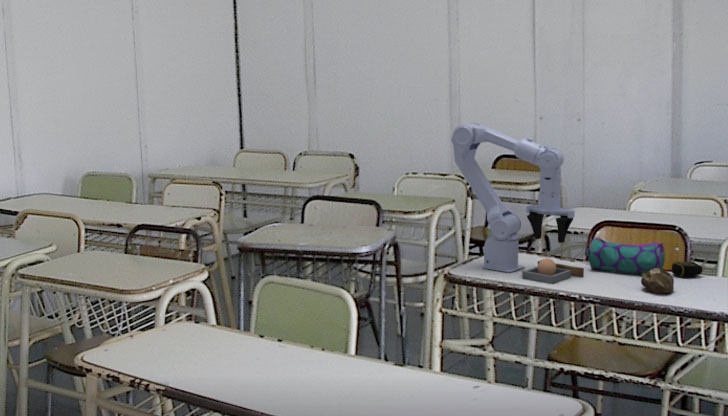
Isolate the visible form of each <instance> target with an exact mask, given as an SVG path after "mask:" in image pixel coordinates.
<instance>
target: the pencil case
mask: <svg viewBox="0 0 728 416" xmlns="http://www.w3.org/2000/svg"><path fill="white" fill-rule="evenodd" d="M664 244H665V241H664V242H661V243H659V242H652V243H646V244H626V243H625V244H624V243H617V242H611V241H608V240H607V239H604V238H601V236H596V237H595V238H593V239H592V241H591V243H590V244H589V248H585V251H584V256H587V257H588V261H589V266H590V268H591V269H592V270H600V271H606V272H612V273H613V272H614V273H620V274H631V275H642V273H647V272H648V271H650V270H652V269H655V268H658V269H663V268H664V265H665V253H666V252H665V247H664Z"/></svg>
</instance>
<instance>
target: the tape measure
mask: <svg viewBox="0 0 728 416" xmlns="http://www.w3.org/2000/svg"><path fill="white" fill-rule="evenodd" d="M671 273H672V274H673V275H675V276H678V277H680V278H693V277H696V276H699V275H701V274H702V273H703V266H701V265H700V264H697V263H693V262H690V261H684V260H682V261H674V262H673V263H672V265H671Z"/></svg>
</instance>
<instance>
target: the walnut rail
mask: <svg viewBox="0 0 728 416" xmlns="http://www.w3.org/2000/svg"><path fill="white" fill-rule="evenodd" d="M540 261H541V260H538V261H537V265H538V264H539V262H540ZM555 264H556V268H560V269H566V270H571V277H575V278H576V277H577V278H584V274H585V272H584V271H585V270H584V269H585V268H584V267H581V266H579V267H578V266H574V265H568V264H561V263H557V262H556V263H555Z"/></svg>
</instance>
